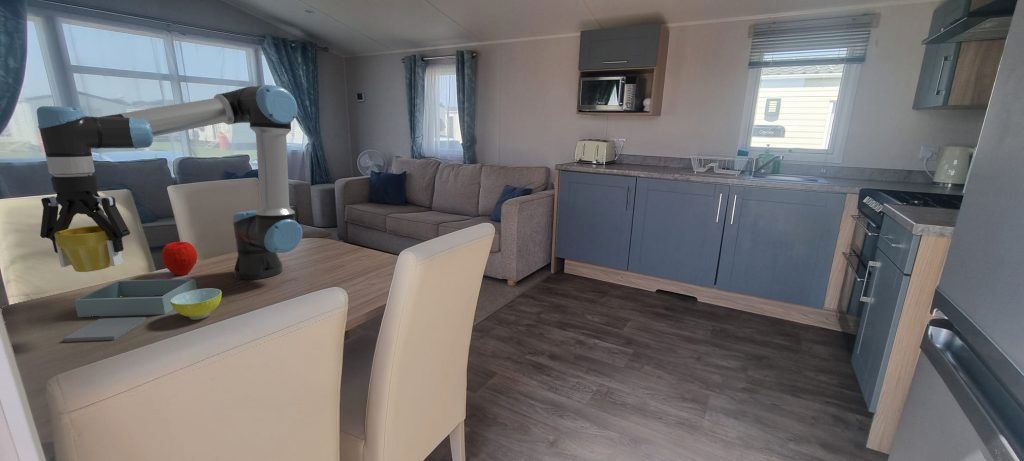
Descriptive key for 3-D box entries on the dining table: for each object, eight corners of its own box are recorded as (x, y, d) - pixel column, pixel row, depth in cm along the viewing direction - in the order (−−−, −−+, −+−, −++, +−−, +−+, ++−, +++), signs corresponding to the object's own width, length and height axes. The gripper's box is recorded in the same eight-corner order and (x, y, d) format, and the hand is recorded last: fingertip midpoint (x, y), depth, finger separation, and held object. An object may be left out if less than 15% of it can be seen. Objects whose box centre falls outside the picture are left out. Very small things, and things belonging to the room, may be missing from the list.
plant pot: (85, 276, 97) (76, 235, 95) (51, 272, 99) (41, 232, 97) (132, 263, 107) (125, 226, 105) (101, 260, 109) (93, 223, 107)
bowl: (167, 328, 109) (163, 306, 108) (181, 311, 119) (177, 291, 118) (219, 321, 114) (216, 300, 112) (228, 305, 124) (225, 286, 122)
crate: (197, 293, 132) (195, 278, 131) (165, 314, 117) (162, 297, 116) (121, 295, 129) (117, 280, 128) (77, 317, 114) (73, 300, 113)
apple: (206, 270, 154) (202, 238, 151) (181, 279, 144) (176, 245, 141) (183, 268, 155) (178, 236, 152) (157, 277, 146) (151, 243, 143)
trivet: (146, 320, 113) (145, 317, 113) (114, 339, 103) (113, 336, 103) (100, 322, 112) (100, 318, 112) (63, 342, 101) (63, 338, 101)
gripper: (138, 173, 103) (154, 259, 108) (33, 172, 100) (54, 261, 105) (115, 176, 96) (132, 268, 101) (0, 175, 93) (25, 270, 98)
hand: (92, 264), depth 103 cm, fingers closed on plant pot, 10 cm apart
